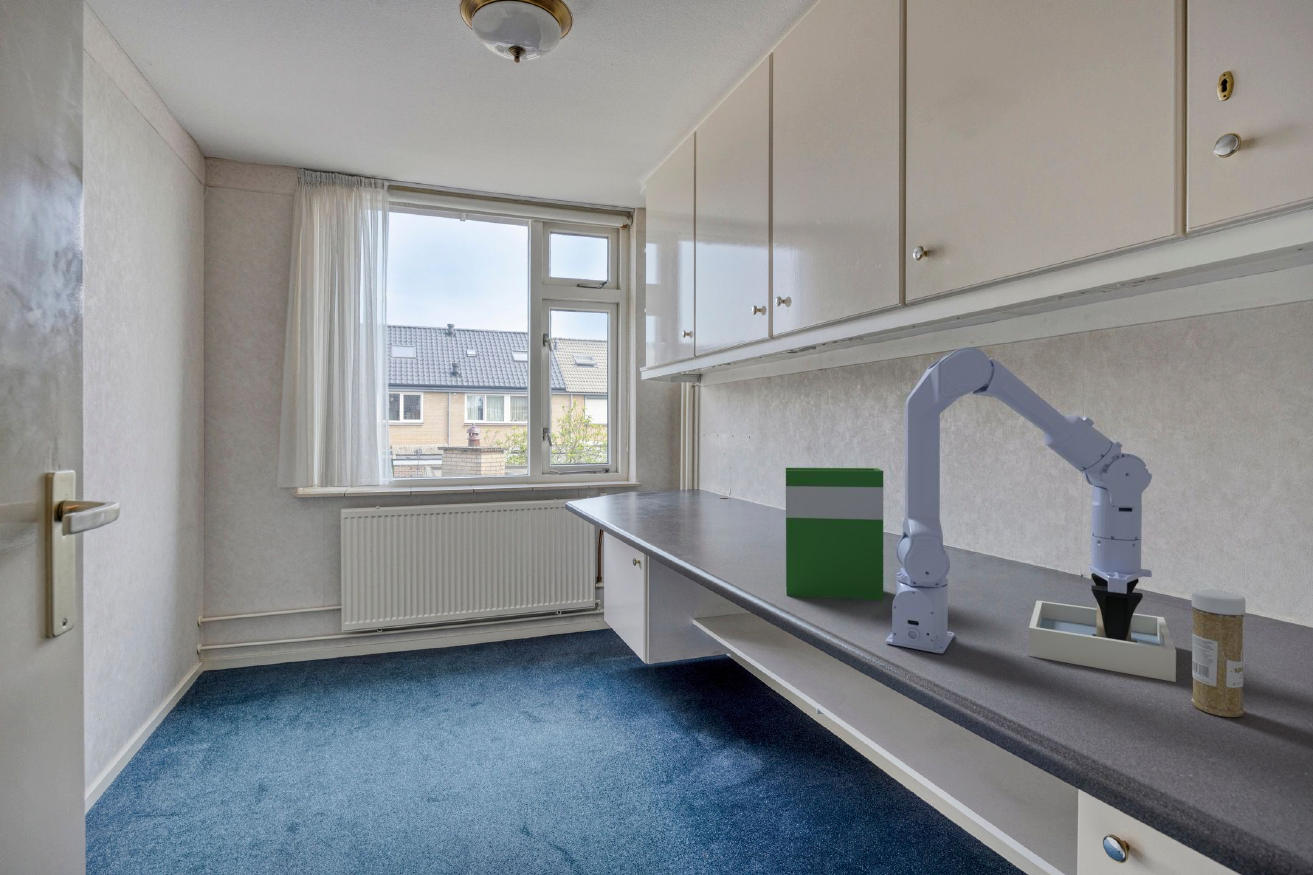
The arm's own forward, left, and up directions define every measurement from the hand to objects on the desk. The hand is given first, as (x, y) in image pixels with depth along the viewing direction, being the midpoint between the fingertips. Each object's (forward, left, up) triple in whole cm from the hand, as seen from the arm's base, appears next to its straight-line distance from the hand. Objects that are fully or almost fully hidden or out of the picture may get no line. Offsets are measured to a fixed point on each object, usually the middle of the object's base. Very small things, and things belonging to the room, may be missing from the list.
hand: (1114, 631), depth 89 cm
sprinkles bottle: (-15, -9, -3) cm, 18 cm away
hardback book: (+9, +44, -3) cm, 45 cm away
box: (0, +2, -3) cm, 4 cm away
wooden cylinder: (0, 0, -3) cm, 3 cm away
